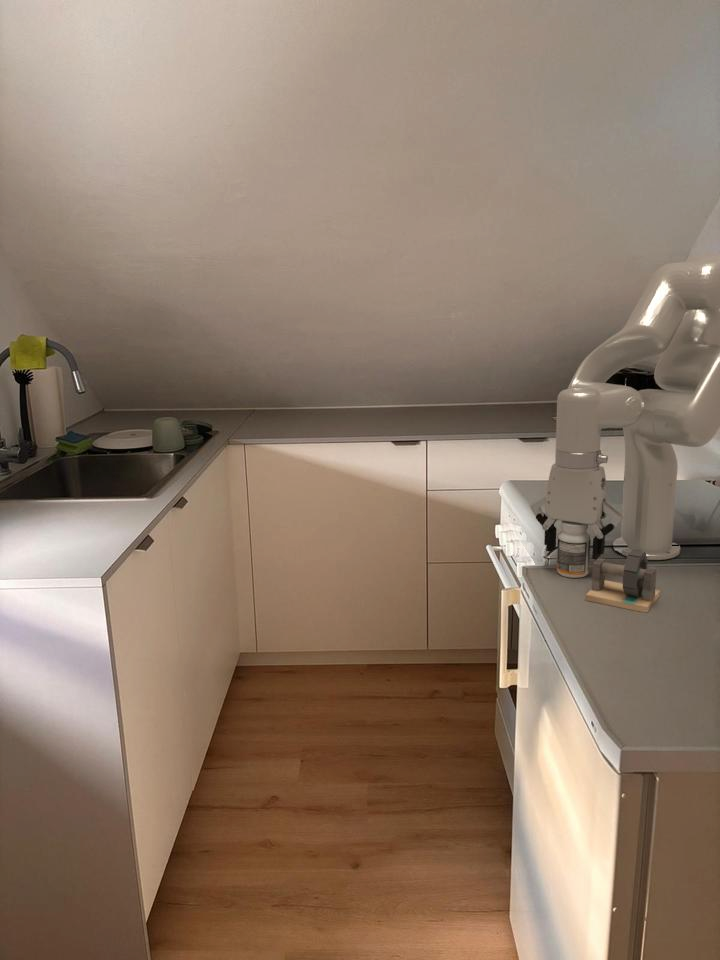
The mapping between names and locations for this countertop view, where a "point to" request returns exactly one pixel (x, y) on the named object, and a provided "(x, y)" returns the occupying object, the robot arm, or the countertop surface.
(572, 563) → the pill bottle
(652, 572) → the rail
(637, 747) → the countertop surface
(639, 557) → the octagonal nut
